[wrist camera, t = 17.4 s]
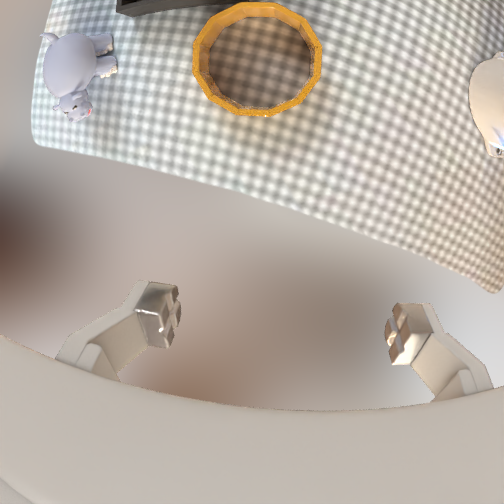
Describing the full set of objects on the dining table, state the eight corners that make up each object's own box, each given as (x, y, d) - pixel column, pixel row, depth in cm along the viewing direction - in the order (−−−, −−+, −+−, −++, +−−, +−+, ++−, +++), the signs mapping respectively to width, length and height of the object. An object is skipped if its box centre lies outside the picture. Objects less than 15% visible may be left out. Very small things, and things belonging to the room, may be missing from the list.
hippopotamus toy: (74, 124, 36) (36, 139, 28) (60, 48, 28) (20, 50, 20) (125, 103, 34) (88, 112, 26) (110, 19, 26) (71, 12, 19)
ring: (318, 16, 26) (323, 7, 22) (312, 117, 34) (316, 121, 30) (205, 13, 27) (194, 4, 22) (202, 111, 35) (192, 115, 31)
